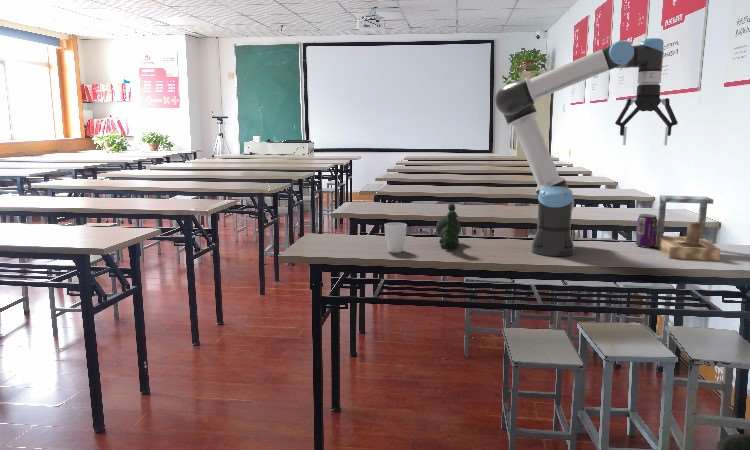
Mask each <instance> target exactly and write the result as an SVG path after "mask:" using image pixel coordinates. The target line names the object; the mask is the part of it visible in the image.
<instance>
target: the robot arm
mask: <svg viewBox="0 0 750 450" xmlns="http://www.w3.org/2000/svg"><path fill="white" fill-rule="evenodd" d="M664 42H665V41H664V40H663V39H662V38H660V37H659V38H657V37H654V38H653V37H652V38H650V37H649V38H643V39H641V40H640V43H639V44H638V45H633V44H632V43H631V42H630V41H628V40H625V39H624V40H618V41H615V42H614V43H612V45H608V46H606V47H604V48H602V49H601V48H600V49H599V50H597V51H593V52H592V53H589V54H586V55H585V56H582V57H580V58H578V59H575V60H573V61H570V62H568V63H565V64H563V65H561V66H558V67H556V68H553V69H551V70H549V71H546V72H544V73H542V74H539V75H537V76H534V77H532V78H529V77H525V78H524V77H523V78H522V79H520V80H517V81H513V82H510V83H506V84H504V85H503V86H501V87H500V88H499V89H498V91H497V93H496V94H495V98H494V99H495V106H496V109H497V110H498V111H499V112H500V113H502V115H503V116H504V119H505V120H506V121H505V122H506V123H507V125H508V126H509V127H512V128H513V129H514V133H515V135H516V137H517V139H518V141H519V144H520V146H521V149H522V151H523V154H524V156H525V158H526V160H527V163H528V166H529V169H530V171H531V173H532V176H533V178H534V179H535V182H536V184H537V186H536V187H535V193H536V195H537V200H538V204H537V206H538V207H537V209H538V210H537V226H536V227H537V228H536V232H535V235H534V237H533V241H532V243H531V247H530V249H531V250H530V251H531V252H532V253H534V254H537V255H542V256H550V257H566V256H567V257H568V256H573V255H574V254H575V243H574V240H573V237H572V233H571V230H572V229H571V227H572V226H571V225H572V213H573V212H572V211H573V209H574V207H575V196H574V194H573V191H572V190H571V189H570V187H569V186H568V183H567V181H566V179H565V178H564V177H562V176H560V175H559V173H558V170H557V167H556V165H555V163H554V160H553V158H552V156H551V154H550V151H549V149H548V146H547V144H546V142H545V139H544V136H543V135H542V132H541V130H540V127H539V125H538V123H537V120H536V116H537V114H538V112H537V109H536V107H535V105H534V104H537V101H538V100H539V99H542V98H544V97H546V96H549V95H551V94H554V93H556V92H559V91H561V90H564V89H566V88H568V87H571V86H573V85H576V84H578V83H581V82H583V81H586V80H588V79H590V78H593V77H595V76H598V75H600V74H603V73H605V72H607V71H610V70H614V69H625V68H626V69H627V68H628V69H630V68H638V72H637V75H638V76H637V84H638V85H637V86H636V96H635V99H633V98H626V101H625V105H624V106H623V109H622V111H620V113H619V115H618V117H617V119H616V121H615V122H614V124H615V125H617V126H619V136H622V142H621V143H622V144H621V145H622V146H626V143H627V142H626V141H627V131H628V127H627V126H626V125H627V124H628V123H629V122H630V121H631V120H632V119H633V118H634V116H636V115H637V114H638V113H639V112H653V111H654V112H655V113H656V115H658V117H659V118H660V119H661V120H662V122H663V123H664V124H665V125H666V126H664V127H663V138H662V146H668V137H670V136H671V135H672V127H674V126H676V125H678V124H679V122H678V120H677V117H676V115H675V113H674V111H673V109H672V107H671V105H670V101H671V100H670V98H668V97H666V98H661V85H660V84H661V83H662V70H663V60H664V47H665V46H664ZM633 104H635V106H636V107H635V108H634V109H633V110H632V111H631V112H630V114H628V115H627V117H626V118H624V117H625V115H626V113H627V112H628V110H629V108H630V107H631V106H632V105H633ZM660 104H662V105H663V106H664V108H665V110H666V112H667V114H668V115H667V116H668V117H669V119H670V120H669V119H668V117H667V116H666V115H665V114H664V112H663V111H662V110H661V109H660V107H659V105H660ZM623 119H624V120H623ZM622 120H623V121H622Z"/></svg>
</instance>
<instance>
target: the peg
mask: <svg viewBox="0 0 750 450" xmlns="http://www.w3.org/2000/svg"><path fill="white" fill-rule="evenodd" d="M700 224H701V223H698V221H697V222H695V221H694V222H693V221H687V225H686V226H687V227H686V236H685V237H686V246H698V245H699V235H700Z"/></svg>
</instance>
